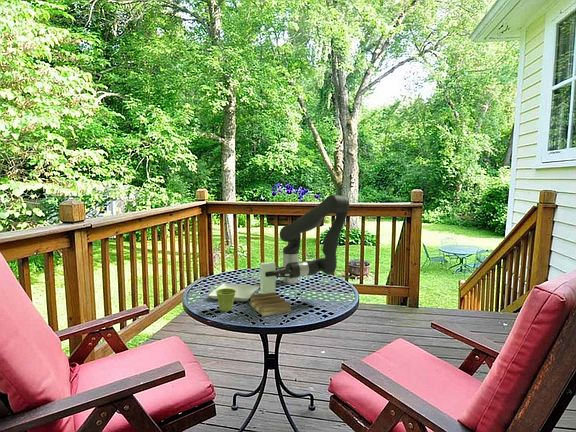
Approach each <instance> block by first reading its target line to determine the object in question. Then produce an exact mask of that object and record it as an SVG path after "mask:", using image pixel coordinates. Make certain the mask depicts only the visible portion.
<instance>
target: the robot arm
mask: <svg viewBox="0 0 576 432" xmlns="http://www.w3.org/2000/svg"><path fill="white" fill-rule="evenodd" d="M349 210H350V199H349V198H348V197H347V196H344V195H338V194H330V195H329V196H327V197H326V198H325V199H323V200H322V201H321V202H320V203H319V204H317V205H316V206H315V207H313V208H312V209H310V210H309V211H307V212H305V213H304V214H302V215H301V216H300V217H298V218H297V219H295V220H294V221H293V222H291V223H288V224H286V225H285V226H283V227H282V228H280V231H279V238H280V240H281V241H282V242H285V243H287V242H288V244H287V245H285V246H284V247H283V249H282V266H278V265H275V271H270V272H266V273H265V276H266V277H270V276H274V277H275V278H282V283H284V284H288V285H289V284H290V285H292V284H293V285H294V284H298V283H299V278H304V277H308V276H314V275H317V274H318V272H322V273H324V274H326V275H329V276H330V275H332V274H334V273H335V271H336V269H337V261H338V260H337V250H338V244H339V239H340V235H341V232H342V229H343V226H344V223H345V221H346V219H347V215H348V212H349ZM330 214H334V215H335V219H334V221H333V223H332V225H331V227H330V228H329V229H328V230H327V232H326V234H325V237H324V239H323V243H322V244H323V245H322V251H321V252H322V253H323V254H324V257H320V258H319V257H318V258H316V259H313V260H308V261H307V260H306V261H300V260H299V259H300V255H299V254H300V249H301V237H302V234H303V233H305V232H308V231H312V230H313V229H315V228H317V227H319V226H320V225H321V224H322V222H323V219H324V217H325V216H327V215H330Z"/></svg>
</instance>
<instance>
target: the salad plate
mask: <svg viewBox="0 0 576 432" xmlns="http://www.w3.org/2000/svg"><path fill="white" fill-rule="evenodd" d="M224 288H230V289H234V290H236V293H235V296H234V302H247V301H249V300H251V295H255V293H256V292H257V291H258V290H259V289H260V285H254V284H245V283H243V284H241V283H227V282H223V283H222V284H220V285H219V286H217V288H216V289H214V290H213V291H212V292H210V293H209V294H208V297H209V298H211V299H213V300H218V296H217V294H216V291H217V290H219V289H224Z"/></svg>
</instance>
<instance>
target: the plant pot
mask: <svg viewBox="0 0 576 432" xmlns="http://www.w3.org/2000/svg"><path fill="white" fill-rule="evenodd" d="M235 293H236V290H234V289H230V288H224V289H219V290H217V291H216V294H217V296H218V299H217V302H218V303H217V304H218V308H219V309H218V310H219V311H220V312H229V311H232V310H233V307H234V302H235V301H234V296H235Z"/></svg>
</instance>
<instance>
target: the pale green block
mask: <svg viewBox="0 0 576 432" xmlns="http://www.w3.org/2000/svg"><path fill="white" fill-rule="evenodd" d="M259 265H260V266H259V268H260V269H259V273H260V275H259V276H260V277H259V282H260V285H259V286H260V287H259V289H260V294H266V293H273V292H276V277H274V276H270V277H266V276H265V273H266V272H270V271H275V266H276V262H274V261H267V262H260V263H259Z"/></svg>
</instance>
